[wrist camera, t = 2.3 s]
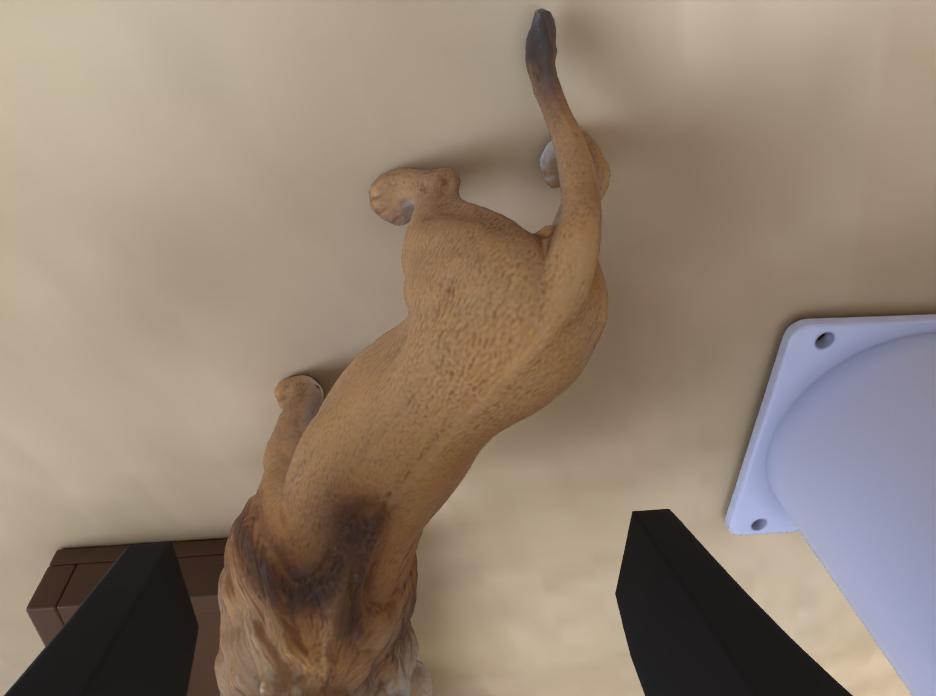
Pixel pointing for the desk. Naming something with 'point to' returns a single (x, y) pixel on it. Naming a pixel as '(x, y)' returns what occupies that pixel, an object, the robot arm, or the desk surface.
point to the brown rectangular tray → (87, 566)
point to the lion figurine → (410, 421)
